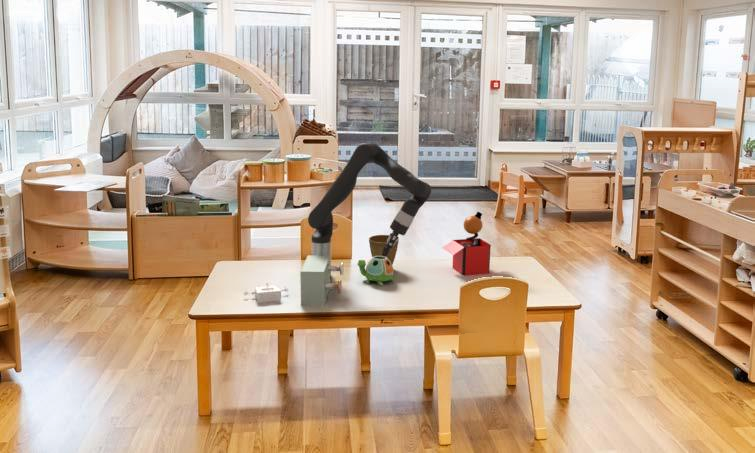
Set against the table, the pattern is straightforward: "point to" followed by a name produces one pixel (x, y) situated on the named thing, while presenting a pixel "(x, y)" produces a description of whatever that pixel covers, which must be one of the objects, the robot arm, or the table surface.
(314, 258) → the console
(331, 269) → the plunger cream
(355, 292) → the table surface
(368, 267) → the turtle holder
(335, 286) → the plunger terracotta
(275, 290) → the cartoon character
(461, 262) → the jack-in-the-box
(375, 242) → the plant pot
